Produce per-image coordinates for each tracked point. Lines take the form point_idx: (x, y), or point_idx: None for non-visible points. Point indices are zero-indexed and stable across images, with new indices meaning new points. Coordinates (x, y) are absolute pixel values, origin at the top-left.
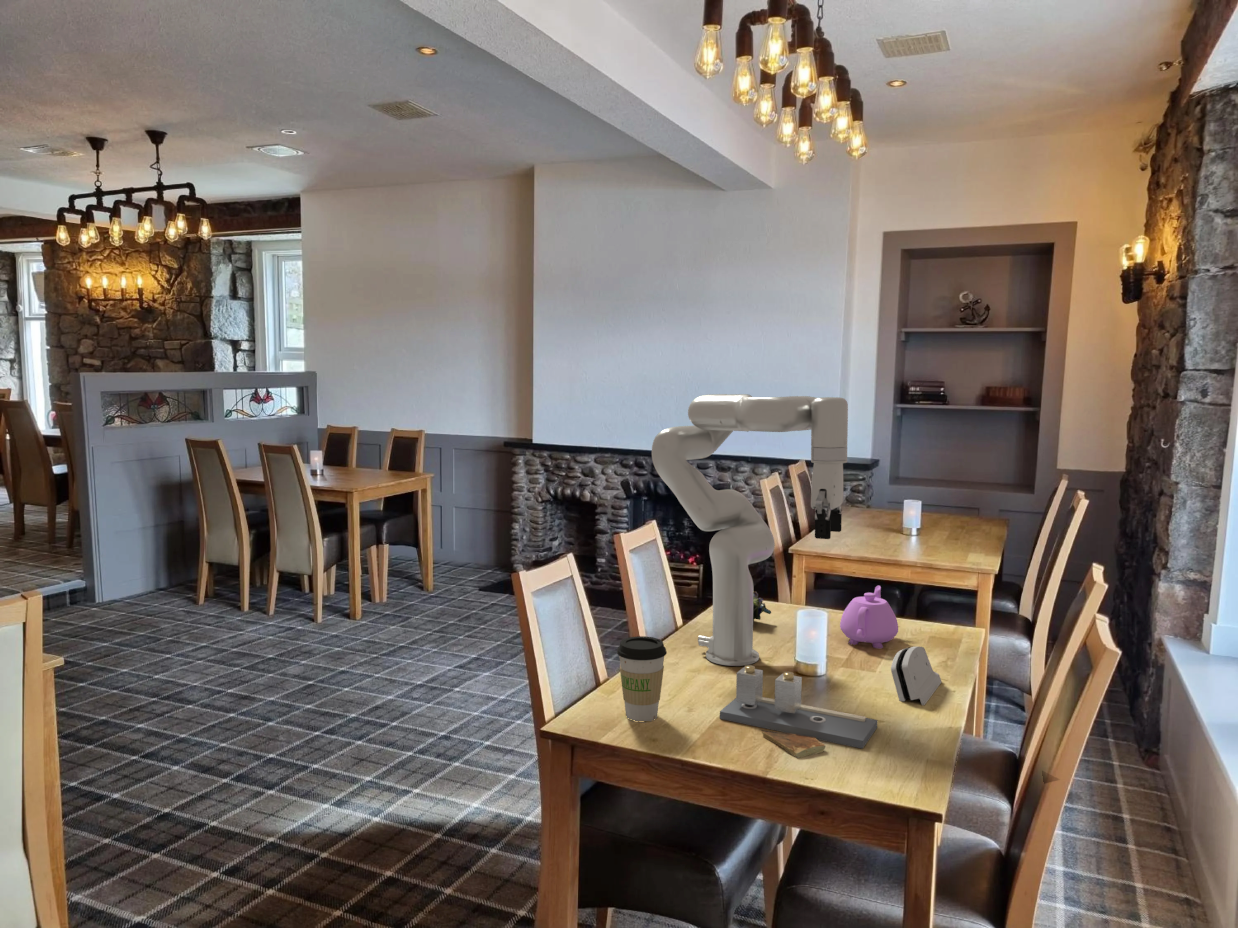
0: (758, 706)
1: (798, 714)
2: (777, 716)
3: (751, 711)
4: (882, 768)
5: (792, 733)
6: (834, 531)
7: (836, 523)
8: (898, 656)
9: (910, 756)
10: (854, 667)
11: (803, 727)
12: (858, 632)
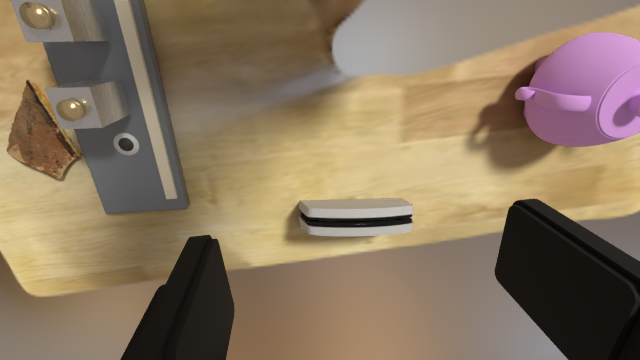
0: None
1: None
2: None
3: None
4: (78, 239)
5: None
6: (504, 243)
7: (536, 296)
8: (338, 217)
9: (134, 253)
10: (410, 108)
11: (82, 136)
12: (522, 93)
